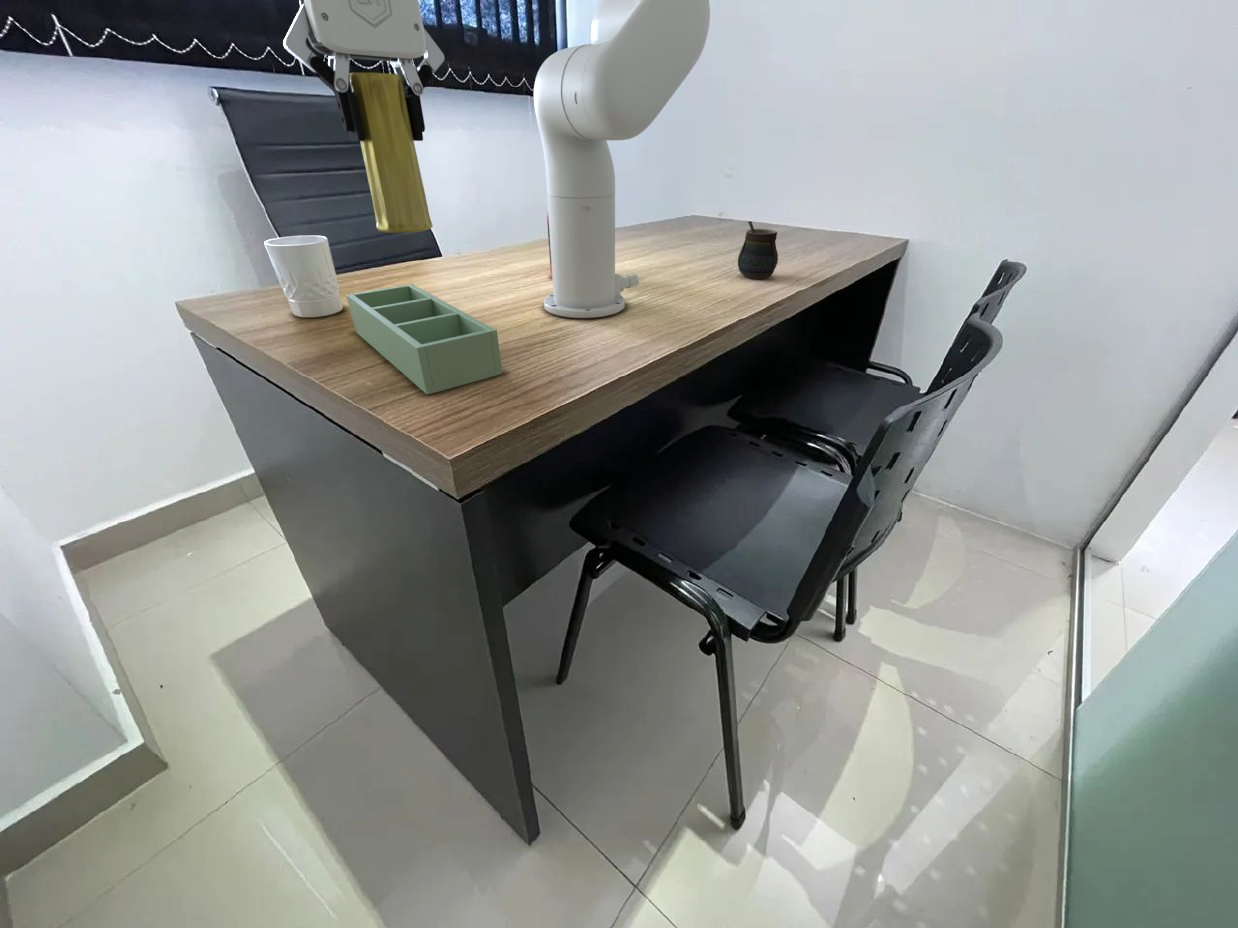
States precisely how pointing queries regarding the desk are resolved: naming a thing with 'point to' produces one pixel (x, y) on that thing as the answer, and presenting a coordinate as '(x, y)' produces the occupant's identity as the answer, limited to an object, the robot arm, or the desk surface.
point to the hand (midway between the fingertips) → (387, 138)
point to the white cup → (306, 274)
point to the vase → (390, 154)
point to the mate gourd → (758, 253)
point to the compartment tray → (426, 337)
